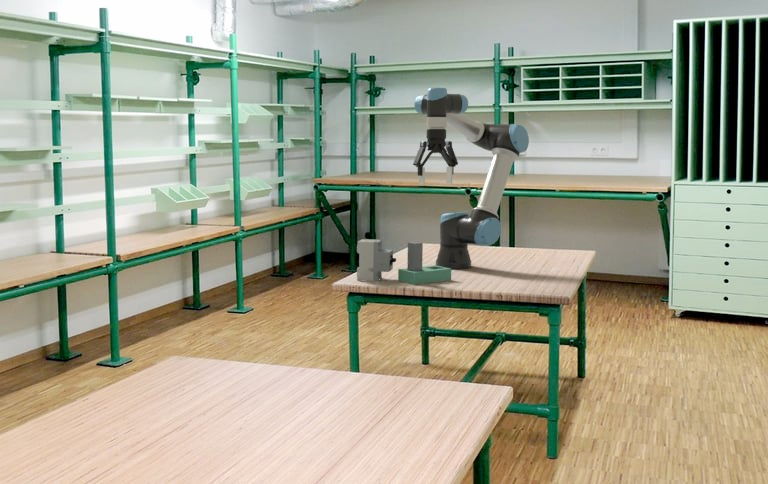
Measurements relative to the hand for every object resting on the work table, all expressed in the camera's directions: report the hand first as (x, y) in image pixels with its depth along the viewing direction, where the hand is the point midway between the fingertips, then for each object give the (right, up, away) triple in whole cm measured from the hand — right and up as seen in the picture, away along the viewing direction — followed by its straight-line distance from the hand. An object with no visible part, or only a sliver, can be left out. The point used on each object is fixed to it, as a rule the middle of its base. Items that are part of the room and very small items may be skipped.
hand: (435, 184), depth 332 cm
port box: (-4, -37, -2) cm, 37 cm away
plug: (-8, -38, -5) cm, 39 cm away
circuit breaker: (-23, -37, 0) cm, 43 cm away
